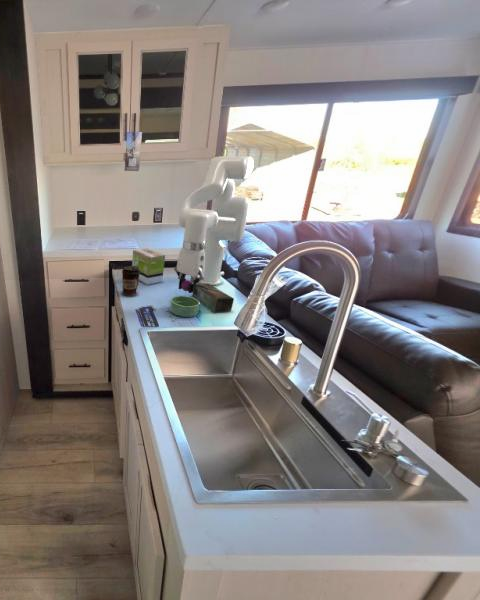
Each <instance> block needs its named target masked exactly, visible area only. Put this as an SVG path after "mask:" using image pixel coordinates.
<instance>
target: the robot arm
mask: <svg viewBox="0 0 480 600" xmlns="http://www.w3.org/2000/svg"><path fill="white" fill-rule="evenodd" d="M253 169H254V158H253V156H250V155H222V156H221V155H220V156H215V157H213V158H211V159H210V162H209V167H208V169H207V172H206V175H205V177H204V180H203V183H202V185H201V186H200V187H199V188H197V189H196V190H194V191H193V192H192V193H190V195H188V196H187V197H186V199H185V200H184V202H183V205H182V207H181V210H180V213H179V216H178V224H179V225H180V227H181V228H184V232H183V233H184V234H183V241H182V246H181V248H180V250H179V252H178V253H179V254H178V256H177V257H178V258H177V263H176V266H175V267H174V268H173V270H174V272H175V273H176V275H177V278H178V280H179V281H178V290H183V289H182V287H181V284H182V283H183V282H184V281H186V280H187V279H186V277H187V276H190V281H191V283H190V284H189V291H187V292H188V294H193V292H195V289H196V284H198V283H201V284H205V283H209V284H211V285H212V286H219V285H221V284H222V282H223V280H222V279H221V276H224V275H225V272H224V271H221V270H222V264H223V260H224V259H223V258H224V254H225V246H224V243H223V242H222V241H226V242H240V241H242V240H243V238H244V235H245V231H246V226H247V220H248V216H249V210H250V200H249V199H248V198H247V197H245V196H235V195H234V193H235V187H236V185H235V181H234V180H245V179H246V178H248V177H249V176H251V173H252V172H253ZM209 201H212V203H211V209H204V208H203V209H201V208H194V207H197V206H198V205H200V204H202V203H206V202H209ZM219 218H220V219H219ZM221 218H229V219H221ZM231 219H234V220H231Z"/></svg>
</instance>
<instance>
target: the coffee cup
mask: <svg viewBox="0 0 480 600" xmlns="http://www.w3.org/2000/svg"><path fill="white" fill-rule="evenodd" d="M121 274H122V275H121V276H122V277H121V278H122V279H121V281H122V294H123V295H124V296H129V297H134V296H136V295H138V293H137V290H138V286H139V281H140V280H139V274H140V270H139V267H136V266H132V265H128V266H124V267H123V268H122V272H121Z"/></svg>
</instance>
